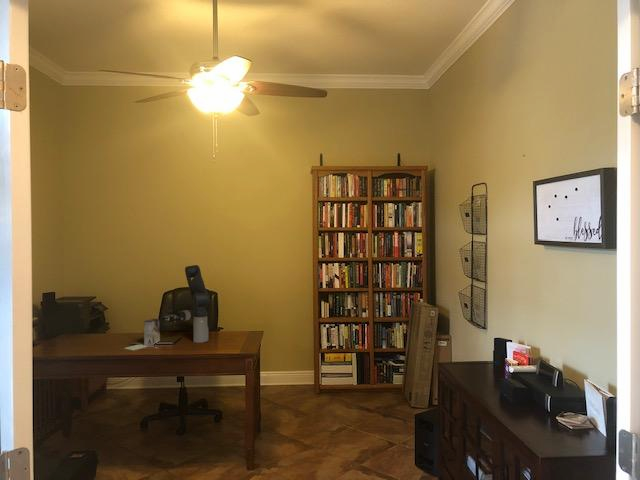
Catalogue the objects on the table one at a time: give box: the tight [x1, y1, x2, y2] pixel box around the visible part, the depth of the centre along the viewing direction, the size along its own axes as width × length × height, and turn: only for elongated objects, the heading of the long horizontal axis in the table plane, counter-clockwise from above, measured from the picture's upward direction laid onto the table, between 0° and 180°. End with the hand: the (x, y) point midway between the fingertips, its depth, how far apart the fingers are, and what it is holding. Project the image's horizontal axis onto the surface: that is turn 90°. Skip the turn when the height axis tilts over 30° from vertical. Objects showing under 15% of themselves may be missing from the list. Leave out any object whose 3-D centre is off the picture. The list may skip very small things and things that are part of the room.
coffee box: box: [143, 318, 161, 346], centre depth 309 cm, size 9×6×16 cm
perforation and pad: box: [124, 344, 158, 351], centre depth 297 cm, size 13×16×1 cm
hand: (165, 320), depth 319 cm, fingers open, 8 cm apart
